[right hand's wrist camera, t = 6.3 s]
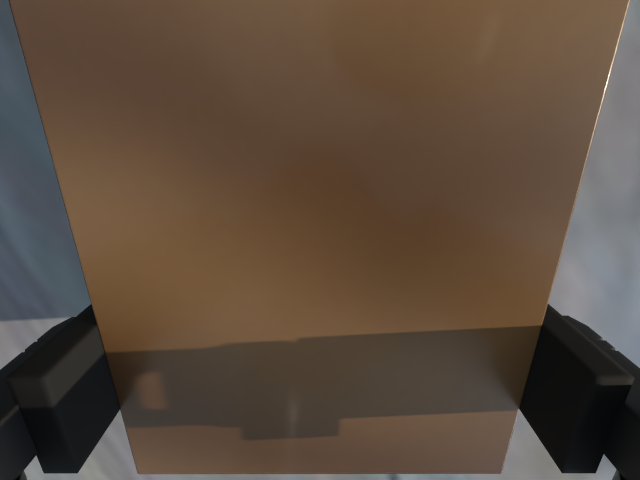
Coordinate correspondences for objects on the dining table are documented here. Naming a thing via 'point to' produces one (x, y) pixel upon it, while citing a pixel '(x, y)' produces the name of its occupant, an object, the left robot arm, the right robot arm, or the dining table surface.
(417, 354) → the cabinet
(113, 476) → the dining table surface
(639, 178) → the dining table surface
